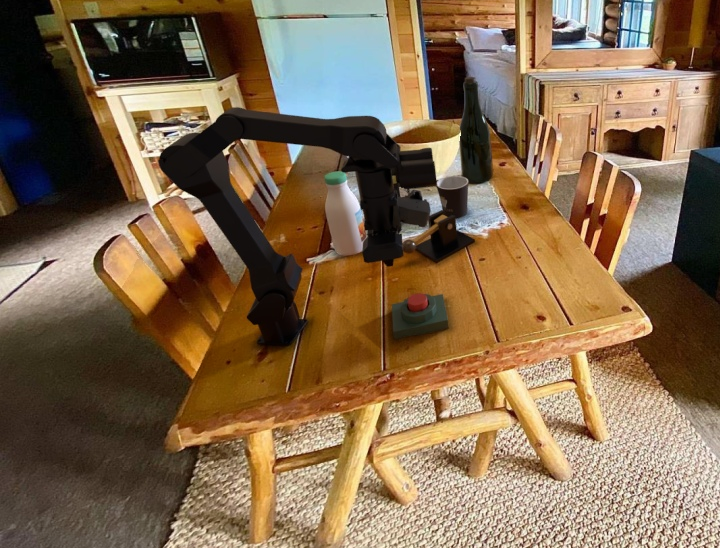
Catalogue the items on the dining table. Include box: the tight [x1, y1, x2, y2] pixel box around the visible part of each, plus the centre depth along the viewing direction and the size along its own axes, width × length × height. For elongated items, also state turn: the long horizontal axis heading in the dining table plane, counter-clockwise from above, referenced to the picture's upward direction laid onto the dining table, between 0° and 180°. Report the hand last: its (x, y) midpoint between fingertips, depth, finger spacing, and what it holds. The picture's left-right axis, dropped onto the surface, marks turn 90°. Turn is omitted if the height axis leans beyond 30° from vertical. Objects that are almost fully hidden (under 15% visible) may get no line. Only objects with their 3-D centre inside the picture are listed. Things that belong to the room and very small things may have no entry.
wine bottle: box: [458, 76, 494, 184], centre depth 139 cm, size 10×10×33 cm
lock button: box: [407, 292, 428, 312], centre depth 84 cm, size 4×4×2 cm
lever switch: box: [415, 209, 476, 264], centre depth 108 cm, size 12×9×9 cm
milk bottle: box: [323, 170, 368, 256], centre depth 105 cm, size 8×8×20 cm
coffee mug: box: [435, 175, 469, 220], centre depth 123 cm, size 12×9×10 cm
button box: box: [391, 293, 450, 340], centre depth 85 cm, size 10×8×4 cm
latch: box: [402, 215, 447, 254], centre depth 103 cm, size 13×3×3 cm, turn 139°
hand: (390, 265), depth 83 cm, fingers closed
